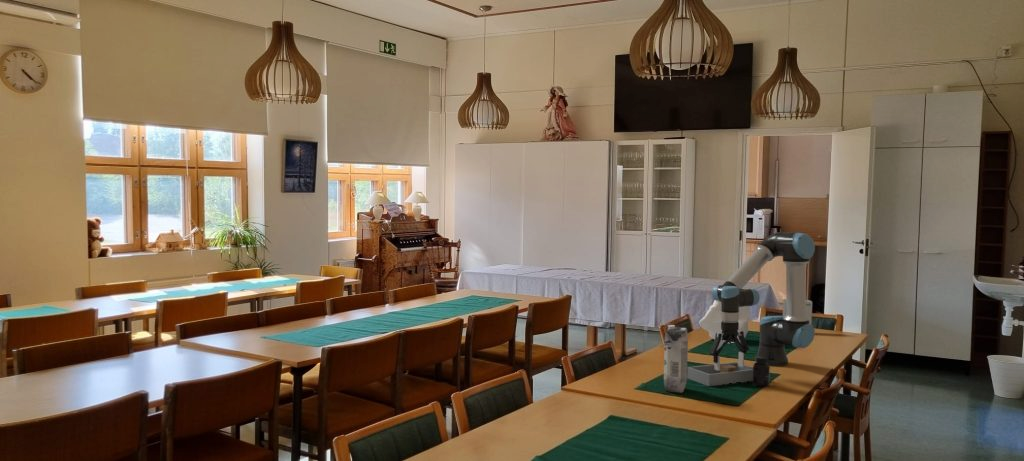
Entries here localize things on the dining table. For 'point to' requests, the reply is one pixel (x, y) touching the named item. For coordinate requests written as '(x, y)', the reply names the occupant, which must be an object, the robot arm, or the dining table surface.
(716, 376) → the tote
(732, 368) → the walnut cube
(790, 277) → the robot arm
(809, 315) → the hard drive box
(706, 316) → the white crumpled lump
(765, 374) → the supplement bottle
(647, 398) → the dining table surface
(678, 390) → the juice carton
